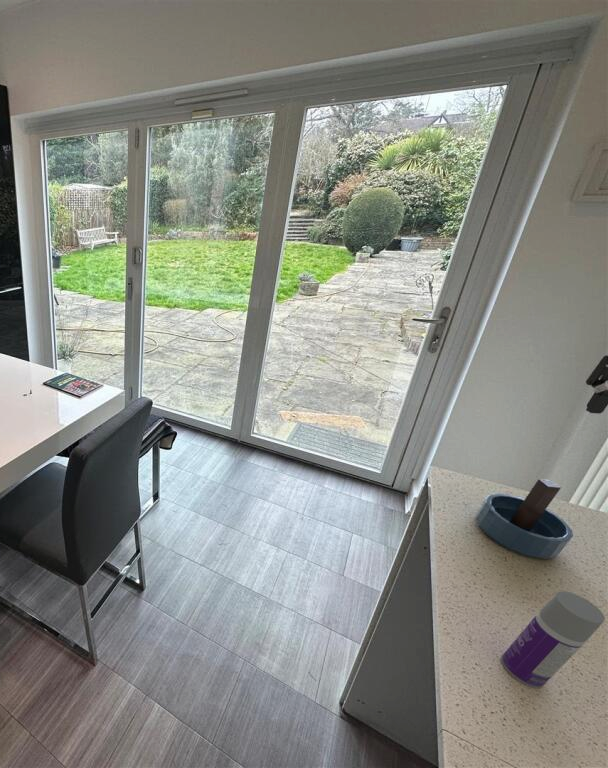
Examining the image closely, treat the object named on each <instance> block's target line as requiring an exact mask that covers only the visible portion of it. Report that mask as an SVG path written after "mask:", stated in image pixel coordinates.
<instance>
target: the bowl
mask: <svg viewBox="0 0 608 768" xmlns="http://www.w3.org/2000/svg"><path fill="white" fill-rule="evenodd" d="M524 500H525V498H523V497H520V496H516V495H513V494H509V493H500V492H498V493H493V494H492V493H491V494H489V495H487V497H485V499H484V500H483V502H482V504H481V506H480V507H479V508H478V510H477V512H476V514H475V521H476V522H477V524H478V526H479V528H481V530H482V531H483V532H484V533H485V534H486V535H487V536H488V537H490V538H491V539H492V540H493V541H495V542H496V543H497V544H499V545H501V546H503V547H504V548H507V549H508V550H510V551H513V552H515V553H517V554H520V555H523V556H527V557H531V558H536V559H548V560H549V559H553V558H557V557H558V555H559V554H560V553H562V551H563V550H564V548H565V547H566V546H567V544H569V542H570V541H571V540H572V538H573V537H574V533H573V529H572V528H571V526H570V525H569V524H568V523H567V522H566V521H565V520H564V519H563V518H561V517H560V516H559V515H558V514H556V513H555V512H553V511H551V510H550V509H548V507H547V508H546V509H545V511H544V512H543V514H542V515H541V516H540V518H539V519H538V521H537V522H536V523H535V525H534V526H533V528H532V529H531V530H530V532H528V531H526V530H523V529H521V528H520V527H518V526H516V525H514V524H512V523H510V521H511V519H512V518H513V516H514V515H515V513H516V512H517V510H518V509H519V507H520V506H521V504H522V503H523V501H524Z"/></svg>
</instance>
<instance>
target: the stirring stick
mask: <svg viewBox="0 0 608 768" xmlns="http://www.w3.org/2000/svg"><path fill="white" fill-rule="evenodd" d="M561 488H562V487H561V486H559V485H558V484H557V483H555V482H554V481H553V480H551V479H541V478H539V479H537V481H536V482H535V484H534V485H533V486H532V488H531V490H530V491H529V493H528V494H527V496H526V497H525V498H524V499H525V500H524V501H523V503H522V504H521V506H520V507H519V509H518V510H517V512H516V513H515V515H514V516H513V518H512V519H511V521H510V523H512V524H514V525H516V526H518V527H520V528H521V529H523V530H526V531H528V532H530V530H531V529H532V528H533V526H534V525H535V523H536V522H537V521H538V519H539V518H540V516H541V515H542V514H543V512H544V511H545V509H546V508H547V509H548V507H549V505H550V504H551V502H552V501H553V500H554V498H555V497H556V496H557V494H558V493H559V491H561Z"/></svg>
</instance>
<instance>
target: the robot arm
mask: <svg viewBox="0 0 608 768" xmlns="http://www.w3.org/2000/svg"><path fill="white" fill-rule="evenodd" d="M585 384H586V385H587V386H591V387H592V388H593V392H594V393H593V394H592V395H591V397H590V399H589V400H588V402H587V403H586V408H585V410H586V412H588V413H590V414H597V415H598V414H602V413H604V411H605V410H606V408H607V407H608V355H604V356H602V358H601V359H600V361H599V363H598V364H597V365H596V367H594V369H593V370H592V372H591V373H590V375H589V376H588V377H587V379H586V381H585Z"/></svg>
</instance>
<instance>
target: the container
mask: <svg viewBox="0 0 608 768" xmlns="http://www.w3.org/2000/svg"><path fill="white" fill-rule="evenodd" d="M605 620H606V619H605V616H604V614H603V611H601V610H600V609H599V608H598V606H596V605H595V604H593V603H592V602H591V601H590V600H588V599H586V598H585V597H582V596H580V595H578V594H576V593H573V592H570V591H566V590H565V591H564V590H560V591H559V590H558V591H557V592H556V593H555V594H554V595H553V596H552V597H551V598H550V599H549V601H548V602H547V603H546V604H545V605H544V606H543V607H542V608H541V609H540V610H539V612H538V613H536V615H534V617H533V618H532V619H531V621H530V622H529V623H528V624H527V625H526V627H525V628H524V629H523V630H522V631H521V632H520V634H519V635H518V636H517V637H516V638H515V639H514V640H513V642H512V643H511V644H510V646H509V647H508V648H507V649H506V650H505V652H504V653H503V654H502V655H501V657H500V662H501V665H502V666H503V669H505V670H506V673H508V674H509V676H511V677H512V678H513V679H514V680H516V681H518V682H519V683H521V684H522V685H524V686H527V687H529V688H533V689H540V688H542V687H543V686H544V685H545V684H546V683H547V682H548V681H549V680H550V679H551V678H552V677H554V675H555V674H556V673H557V672H558V671H559V670H560V669H561V668H562V667H563V666H564V665H565V664H566V663H567V662H568V661H569V660H570V659H571V658H572V657H574V655H576V653H577V652H578V651H579V650H580V649H581V648H582V647H583V646H584V644H585V643H587V642H588V640H589V639H590V638H591V637H592V635H593V634H595V632H596V631H597V630H598V629H599V628H600V626H602V624H603V623H604V622H605Z"/></svg>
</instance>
